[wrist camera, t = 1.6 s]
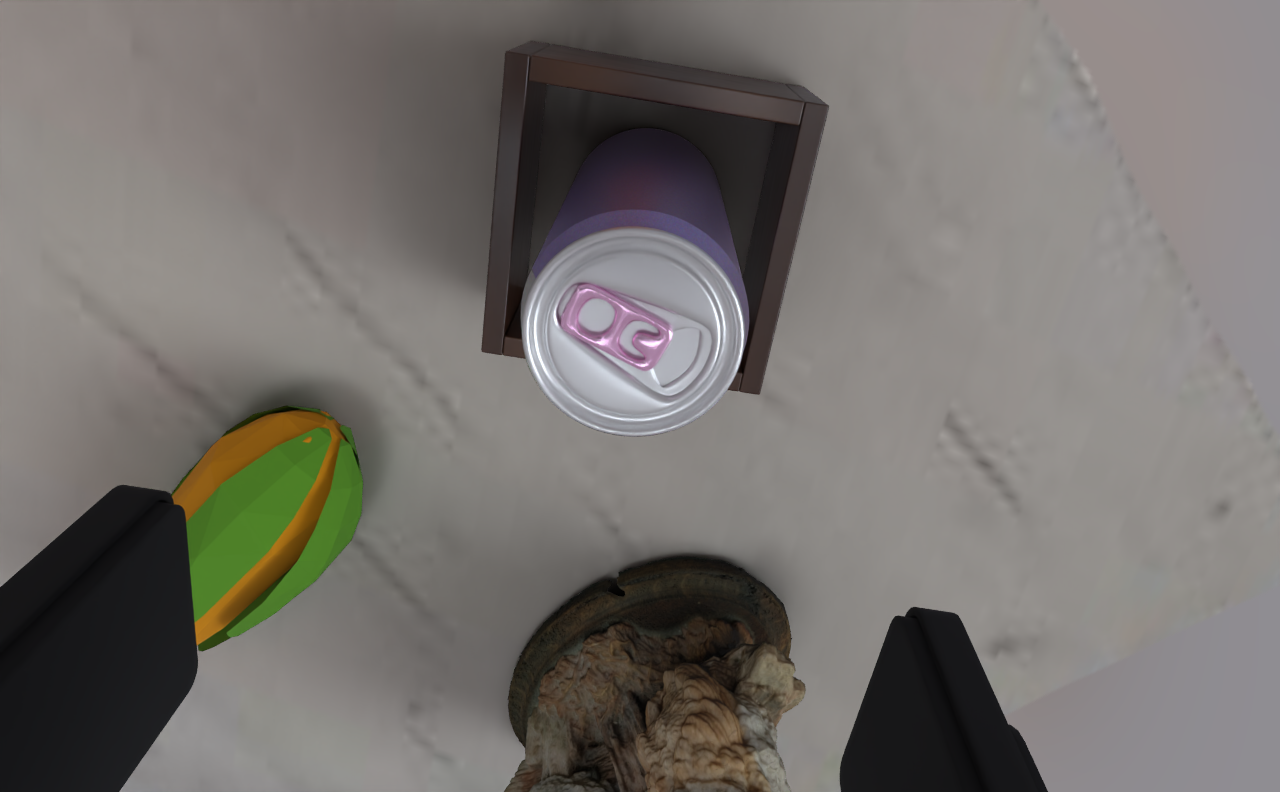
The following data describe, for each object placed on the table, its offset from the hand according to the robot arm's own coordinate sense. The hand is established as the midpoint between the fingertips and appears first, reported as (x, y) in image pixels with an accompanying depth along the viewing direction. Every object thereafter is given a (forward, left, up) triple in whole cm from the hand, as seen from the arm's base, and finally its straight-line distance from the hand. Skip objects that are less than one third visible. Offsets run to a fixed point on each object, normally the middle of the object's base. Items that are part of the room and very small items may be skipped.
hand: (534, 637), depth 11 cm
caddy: (+1, 0, -26) cm, 26 cm away
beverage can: (+1, 0, -26) cm, 26 cm away
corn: (-16, -19, -26) cm, 36 cm away
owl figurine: (+5, -24, -26) cm, 36 cm away
